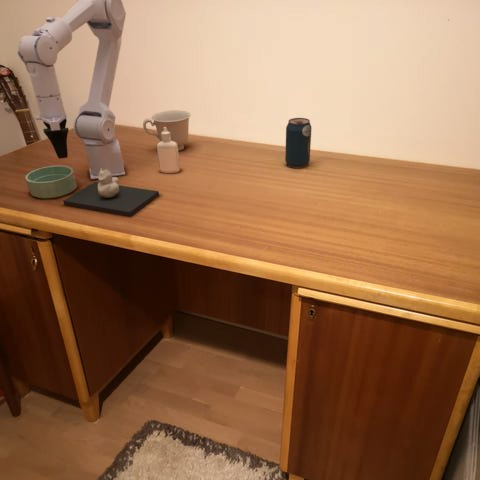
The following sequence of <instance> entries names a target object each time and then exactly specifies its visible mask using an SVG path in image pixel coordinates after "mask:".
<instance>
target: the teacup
mask: <svg viewBox="0 0 480 480" xmlns="http://www.w3.org/2000/svg"><path fill="white" fill-rule="evenodd" d="M191 116H192V115H191V113H190V112H189V111H186V110H178V109H177V110H165V111H164V110H163V111H160V112H156V113H154V114H153V115H152V116H151V118H145V119H144V120H143V122H142V128H143V130H144V132H146V133H147V134H148V135H151V136H155V137H156V138H157V139H158V140H159V142H161V141H162V137H161V133H162V132H163V127H166V129H167V131H168V132H170V137H171V141H174V142H176V143H177V146H178V152H179V151H182V150H184V149H185V146H184V145H185V144H186V143H187V142H188V140H189V128H190V127H189V125H190V124H189V123H190V118H191ZM148 123H150V125H151V127H154V126H155V129H156V132H154V131H151V130H149V128H148V127H147V124H148Z"/></svg>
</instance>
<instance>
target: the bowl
mask: <svg viewBox="0 0 480 480" xmlns="http://www.w3.org/2000/svg"><path fill="white" fill-rule="evenodd" d="M25 182H26V185H27V188H28V191H29V194H30V195H31V196H32V197H35V198H38V199H44V200H45V199H46V200H47V199H55V198H56V199H57V198H61V197H64V196H67V195H69V194H71V193H73V192H74V191H75V190H76V189H77V187H78V183H77V180H76V175H75V173H74V169H73V168H72V167H70V166H67V165H49V166H44V167H39V168H36V169H34V170H32V171H30V172H28V173H27V174H26V175H25Z"/></svg>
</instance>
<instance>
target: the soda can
mask: <svg viewBox="0 0 480 480" xmlns="http://www.w3.org/2000/svg"><path fill="white" fill-rule="evenodd" d="M312 129H313V127H312V125H311V120H310V119H309V118H306V117H293V118H289V119H288V123H287V125H286V126H285V151H284V152H285V154H284V155H285V156H284V160H285V163H286V165H287V166H288V167H289V168H293V169H302V168H306V167H307V166H308V164H309V163H310V160H311V145H312Z"/></svg>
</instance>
